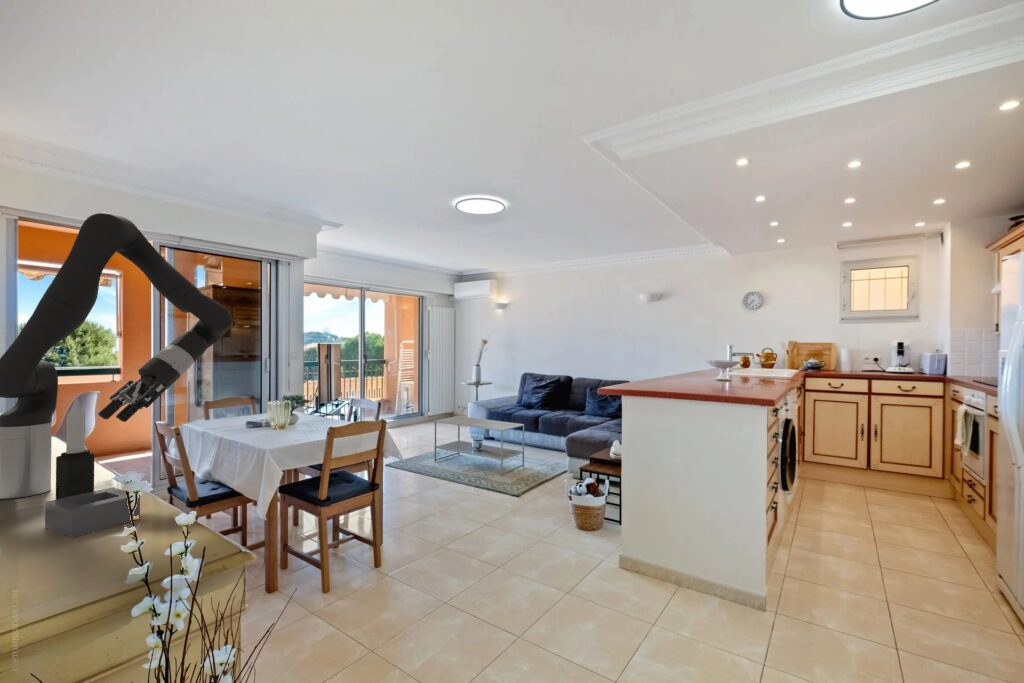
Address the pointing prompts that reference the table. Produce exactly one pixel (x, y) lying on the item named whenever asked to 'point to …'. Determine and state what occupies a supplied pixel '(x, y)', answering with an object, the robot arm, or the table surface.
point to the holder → (88, 512)
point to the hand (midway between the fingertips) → (110, 418)
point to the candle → (75, 459)
